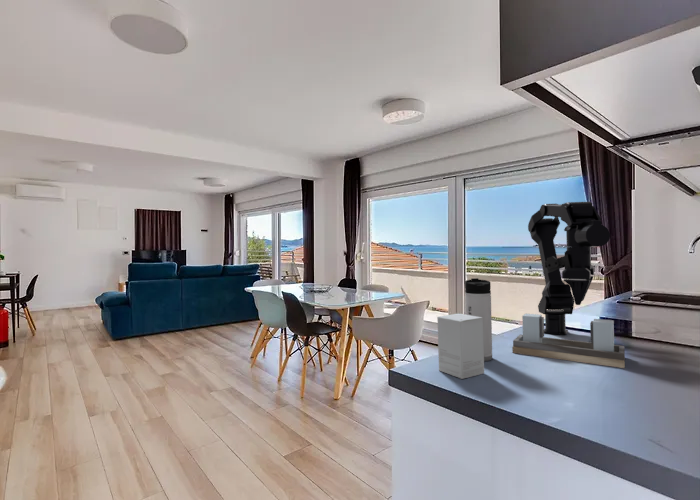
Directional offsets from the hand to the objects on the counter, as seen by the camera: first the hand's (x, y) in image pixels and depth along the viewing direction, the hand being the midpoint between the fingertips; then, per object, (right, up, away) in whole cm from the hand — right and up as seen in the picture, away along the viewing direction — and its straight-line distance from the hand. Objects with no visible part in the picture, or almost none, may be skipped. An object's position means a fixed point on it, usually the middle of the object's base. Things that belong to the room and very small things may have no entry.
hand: (579, 302), depth 105 cm
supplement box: (-39, -13, -20) cm, 46 cm away
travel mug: (-31, -13, -9) cm, 35 cm away
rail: (-8, -12, -8) cm, 17 cm away
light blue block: (-2, -11, -13) cm, 17 cm away
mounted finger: (-15, -11, -4) cm, 19 cm away
